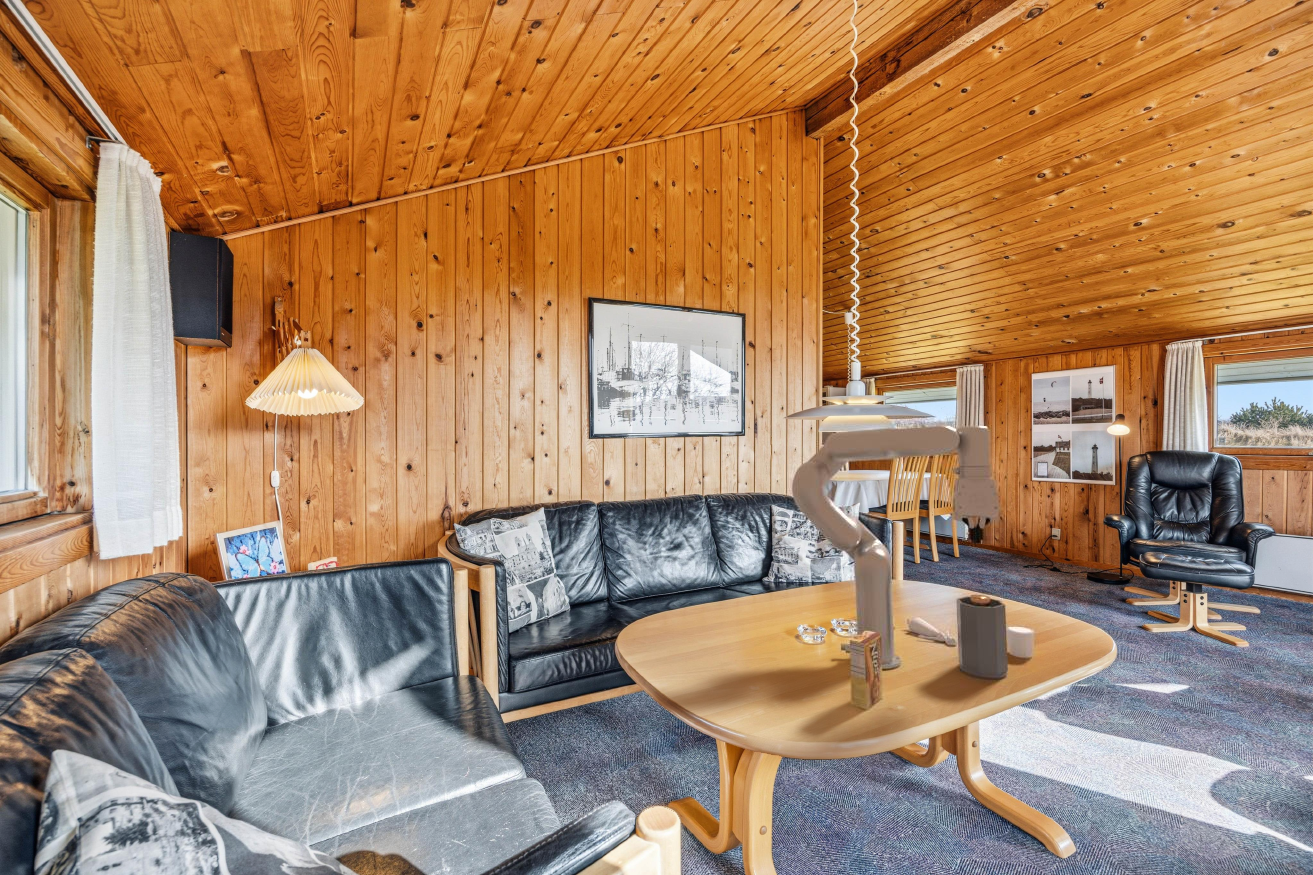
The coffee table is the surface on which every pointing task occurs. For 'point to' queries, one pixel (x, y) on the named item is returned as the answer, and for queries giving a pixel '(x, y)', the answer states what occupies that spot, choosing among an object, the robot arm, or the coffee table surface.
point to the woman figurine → (929, 631)
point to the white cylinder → (1020, 641)
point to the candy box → (866, 669)
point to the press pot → (982, 639)
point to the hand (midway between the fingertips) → (976, 542)
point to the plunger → (980, 600)
